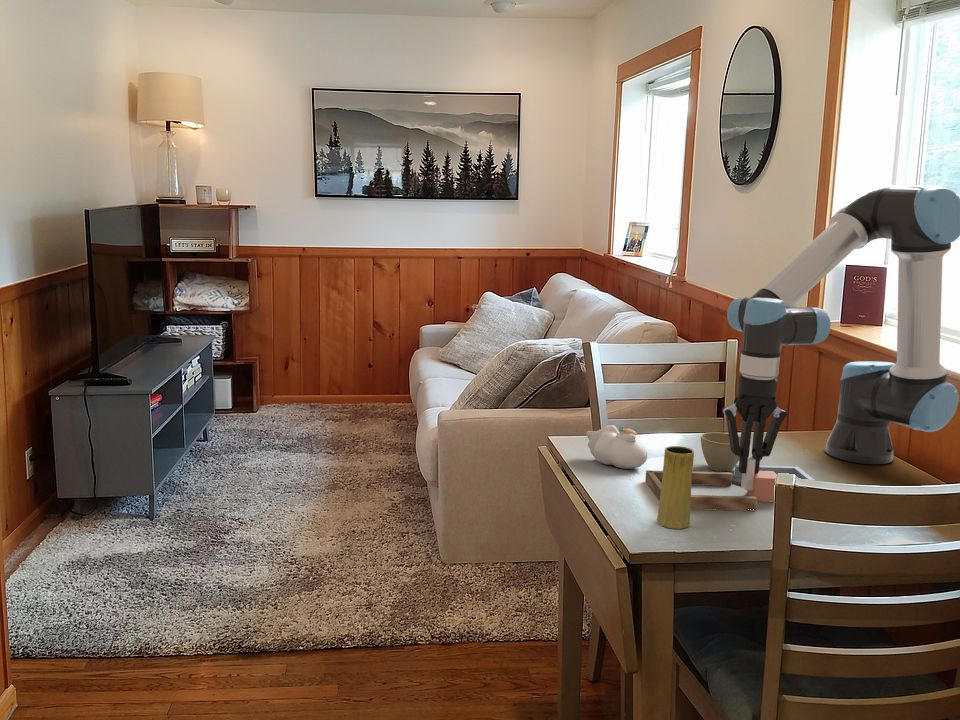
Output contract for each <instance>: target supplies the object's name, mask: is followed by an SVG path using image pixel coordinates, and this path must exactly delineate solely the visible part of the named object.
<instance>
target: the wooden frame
mask: <svg viewBox="0 0 960 720" xmlns="http://www.w3.org/2000/svg"><path fill="white" fill-rule="evenodd" d="M662 476H663V470H650V469H649V470H645V481H644V482H645V483H646V485H647V486H648V488H649V489H650V490H651V491H652V494H654V495H653V496H655V498H656V499H657V500H658V503H659V502H660V494H661V485H662ZM732 477H733V473H732V472H731V471H728V472H721V471H692V481H691V484H705V485H704V486H707V485H706V484H711V485H710V486H732V479H733V478H732ZM757 503H758V502H757V498H756V497H753V496H749V495H748V496H747V495H745V496H744V495H740V496H739V495H707V494H706V495H704V494H703V495H699V494H698V495H697V494H691V506H690V510H700V509H710V510H709V511H711V509H712V511H714V510H715V509H716V510H715V511H745V510H748V509H749V510H750V509H751V510H753V509H754V510H757V506H758V505H757ZM713 509H714V510H713Z"/></svg>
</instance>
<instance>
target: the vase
mask: <svg viewBox="0 0 960 720" xmlns="http://www.w3.org/2000/svg"><path fill="white" fill-rule="evenodd" d="M663 456H664V457H663V466H662V467H663V468H662V471H663V476H662V485H661V494H660V502H659V501H658V511H657V517H656V523H657V524H658V525H659V526H661V527H664V528H667V529H673V530H683V529H687V528H689V527H690V525H691V509H690V506H691V495H692V485H691V481H692V472H693V469H694V459H695V458H694V457H695V452H694V449H692V448H690V447H687V446H686V447H685V446H678V445H672V446H671V445H670V446H667V447H665V448H664V455H663Z"/></svg>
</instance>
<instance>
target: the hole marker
mask: <svg viewBox="0 0 960 720" xmlns="http://www.w3.org/2000/svg"><path fill="white" fill-rule="evenodd" d="M741 482H742V477H733V478H732V482H731V484H733V485H736V486H738V485H739V486H738V487H742V486H741Z"/></svg>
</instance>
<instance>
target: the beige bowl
mask: <svg viewBox="0 0 960 720" xmlns="http://www.w3.org/2000/svg"><path fill="white" fill-rule="evenodd" d="M738 439H739V446H740V440H741V435H738ZM700 445H701V451H702V454H703V458H704V459H705V461H706V464H707V467H708V468H709V469H710V468H711V469H710V470H712V469H713V471H716V470H717V471H716V472H721V471H728V472H731V471H733V469H735V465H738V464H739V459H740V457H739V456H736V455H735V454H734V453H733V452H732V451H731V447H730V441H729V434H728V432H718V431H717V432H715V431H714V432H712V431H711V432H705V433H704V432H703V433H701V435H700Z"/></svg>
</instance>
